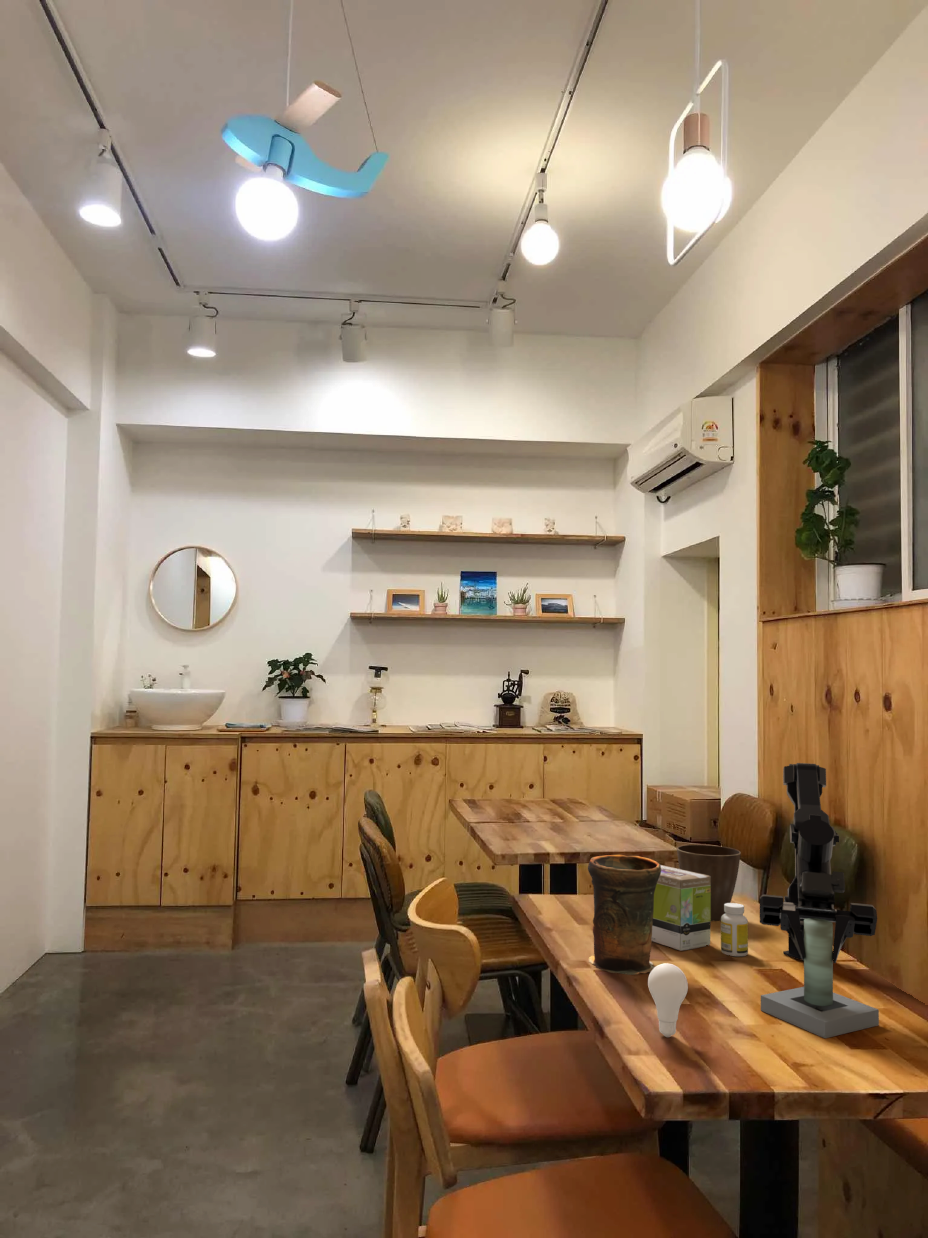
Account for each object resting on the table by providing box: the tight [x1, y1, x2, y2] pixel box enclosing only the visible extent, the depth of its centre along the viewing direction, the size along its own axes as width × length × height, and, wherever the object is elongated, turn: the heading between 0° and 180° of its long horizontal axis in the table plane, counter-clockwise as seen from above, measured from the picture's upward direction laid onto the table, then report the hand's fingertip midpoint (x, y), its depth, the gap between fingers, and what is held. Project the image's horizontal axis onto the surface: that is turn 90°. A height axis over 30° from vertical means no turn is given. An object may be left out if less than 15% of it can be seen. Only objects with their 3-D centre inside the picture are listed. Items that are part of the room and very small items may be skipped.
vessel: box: [587, 854, 661, 976], centre depth 173 cm, size 14×14×20 cm
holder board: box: [760, 986, 880, 1039], centre depth 145 cm, size 13×13×2 cm
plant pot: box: [676, 844, 742, 922], centre depth 210 cm, size 15×15×16 cm
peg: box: [803, 918, 834, 1006], centre depth 146 cm, size 4×4×13 cm
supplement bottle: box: [720, 902, 749, 957], centre depth 181 cm, size 5×5×10 cm
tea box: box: [651, 864, 712, 951], centre depth 190 cm, size 15×10×15 cm, turn 34°
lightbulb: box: [647, 962, 689, 1038], centre depth 136 cm, size 6×6×11 cm
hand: (818, 960), depth 145 cm, fingers closed on peg, 4 cm apart
